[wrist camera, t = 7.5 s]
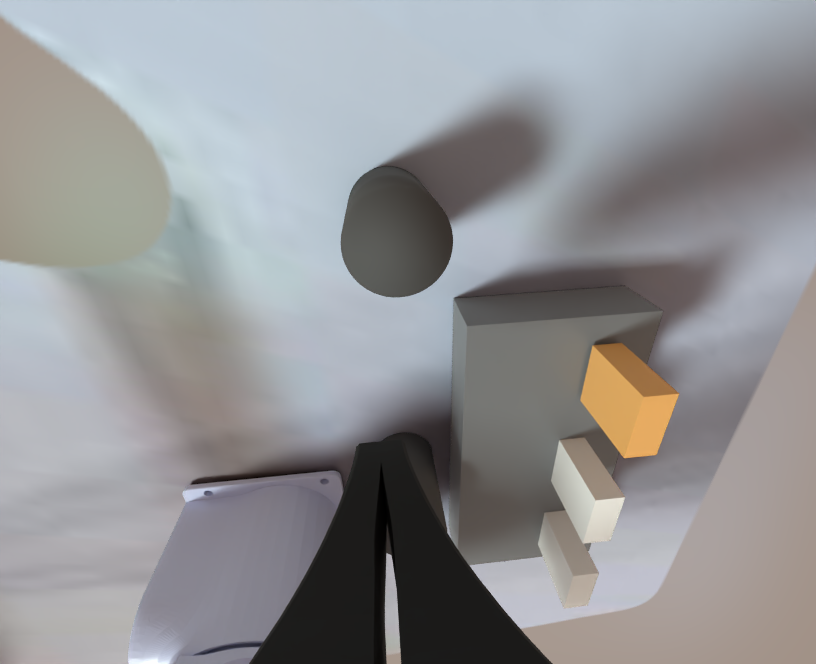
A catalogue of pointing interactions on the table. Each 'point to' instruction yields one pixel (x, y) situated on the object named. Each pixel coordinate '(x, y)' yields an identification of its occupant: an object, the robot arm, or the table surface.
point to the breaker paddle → (627, 400)
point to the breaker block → (537, 428)
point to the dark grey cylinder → (394, 234)
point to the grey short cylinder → (421, 472)
